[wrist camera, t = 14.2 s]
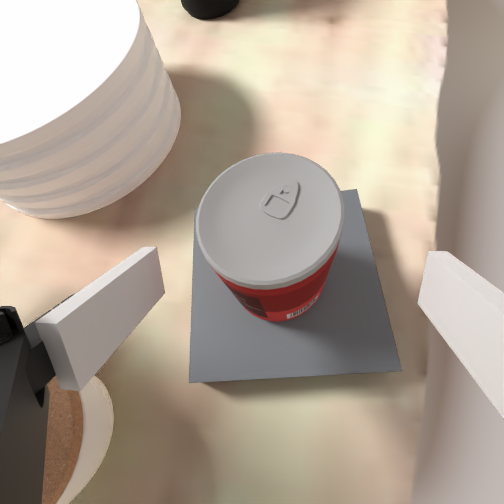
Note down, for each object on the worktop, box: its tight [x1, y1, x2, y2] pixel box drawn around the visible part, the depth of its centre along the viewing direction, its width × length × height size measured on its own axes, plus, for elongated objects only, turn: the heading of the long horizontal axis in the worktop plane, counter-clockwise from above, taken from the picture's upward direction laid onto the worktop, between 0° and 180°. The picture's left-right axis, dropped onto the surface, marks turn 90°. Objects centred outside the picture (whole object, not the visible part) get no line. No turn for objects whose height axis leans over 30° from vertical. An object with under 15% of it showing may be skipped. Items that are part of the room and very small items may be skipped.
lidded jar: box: [42, 375, 114, 504], centre depth 20 cm, size 11×11×9 cm
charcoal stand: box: [189, 189, 402, 383], centre depth 26 cm, size 16×16×3 cm
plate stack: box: [0, 0, 181, 219], centre depth 35 cm, size 28×28×12 cm
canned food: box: [196, 153, 344, 322], centre depth 19 cm, size 8×8×11 cm
